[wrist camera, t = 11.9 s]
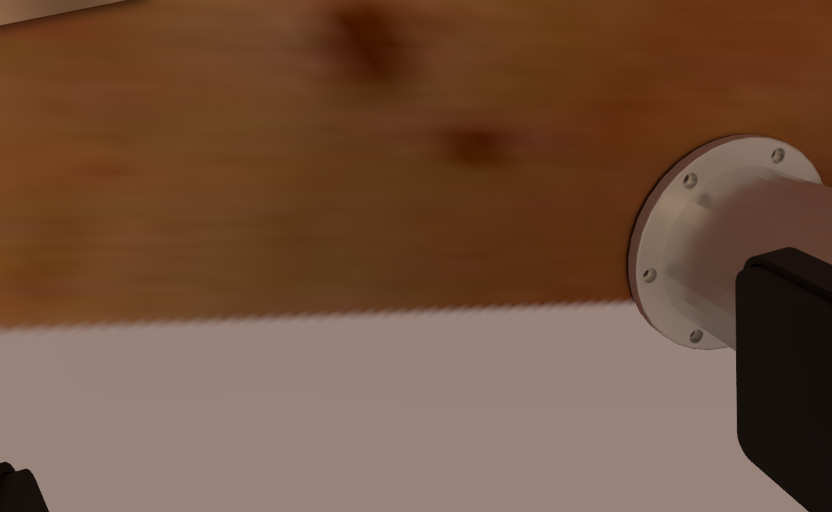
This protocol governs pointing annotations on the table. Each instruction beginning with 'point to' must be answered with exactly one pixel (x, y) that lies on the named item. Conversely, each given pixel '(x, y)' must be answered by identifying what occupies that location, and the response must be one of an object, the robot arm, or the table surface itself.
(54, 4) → the collar plate
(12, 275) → the table surface
